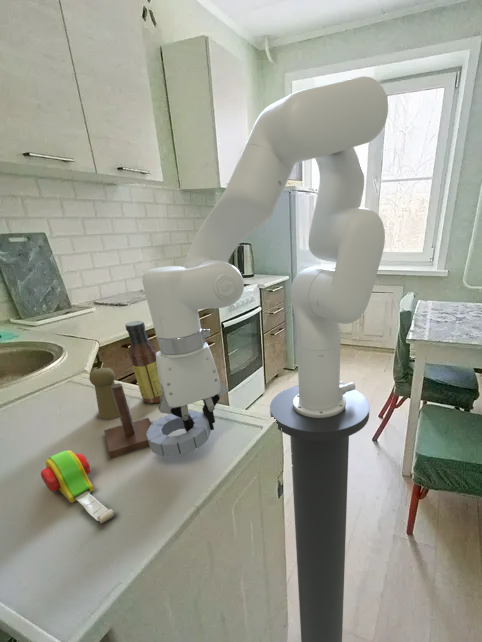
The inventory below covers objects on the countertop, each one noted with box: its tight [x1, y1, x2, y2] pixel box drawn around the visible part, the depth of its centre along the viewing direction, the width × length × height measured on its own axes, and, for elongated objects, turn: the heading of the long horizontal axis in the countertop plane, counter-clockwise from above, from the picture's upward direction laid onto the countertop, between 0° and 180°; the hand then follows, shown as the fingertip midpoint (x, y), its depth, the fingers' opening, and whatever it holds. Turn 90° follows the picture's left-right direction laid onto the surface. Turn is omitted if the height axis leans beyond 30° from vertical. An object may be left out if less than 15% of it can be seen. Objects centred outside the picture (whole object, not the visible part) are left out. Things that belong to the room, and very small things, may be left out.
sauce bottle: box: [124, 320, 162, 404], centre depth 85 cm, size 7×6×20 cm
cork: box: [88, 367, 120, 420], centre depth 82 cm, size 6×6×11 cm
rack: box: [104, 383, 152, 459], centre depth 70 cm, size 9×9×12 cm
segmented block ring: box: [146, 410, 212, 457], centre depth 67 cm, size 11×11×3 cm
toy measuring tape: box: [40, 449, 115, 525], centre depth 57 cm, size 6×20×7 cm, turn 51°
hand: (201, 429), depth 69 cm, fingers closed on segmented block ring, 3 cm apart
